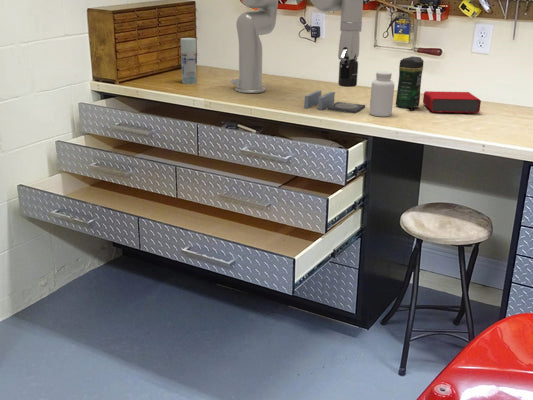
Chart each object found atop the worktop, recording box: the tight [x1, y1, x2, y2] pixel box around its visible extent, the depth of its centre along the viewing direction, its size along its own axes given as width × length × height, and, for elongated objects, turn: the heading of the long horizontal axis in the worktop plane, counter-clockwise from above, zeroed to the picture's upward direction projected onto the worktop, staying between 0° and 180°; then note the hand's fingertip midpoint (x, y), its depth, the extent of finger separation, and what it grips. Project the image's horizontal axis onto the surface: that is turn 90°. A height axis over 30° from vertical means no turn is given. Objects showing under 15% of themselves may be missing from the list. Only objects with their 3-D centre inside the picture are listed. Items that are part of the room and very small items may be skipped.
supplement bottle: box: [337, 54, 359, 88], centre depth 231 cm, size 7×7×12 cm
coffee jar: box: [395, 56, 424, 109], centre depth 239 cm, size 10×8×19 cm
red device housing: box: [422, 90, 482, 114], centre depth 241 cm, size 18×14×5 cm
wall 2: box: [317, 91, 336, 111], centre depth 239 cm, size 2×13×4 cm, turn 153°
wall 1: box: [303, 89, 322, 109], centre depth 241 cm, size 2×13×4 cm, turn 153°
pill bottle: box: [369, 71, 395, 118], centre depth 226 cm, size 8×8×15 cm
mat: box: [326, 101, 366, 114], centre depth 236 cm, size 11×11×1 cm
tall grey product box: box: [180, 37, 198, 85], centre depth 273 cm, size 6×6×20 cm
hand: (348, 76), depth 232 cm, fingers closed on supplement bottle, 6 cm apart
